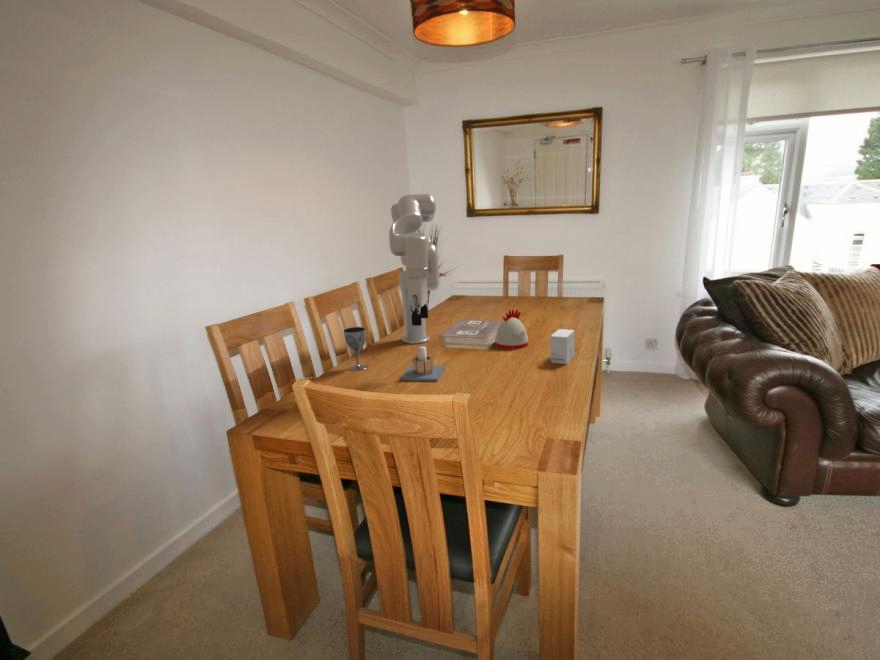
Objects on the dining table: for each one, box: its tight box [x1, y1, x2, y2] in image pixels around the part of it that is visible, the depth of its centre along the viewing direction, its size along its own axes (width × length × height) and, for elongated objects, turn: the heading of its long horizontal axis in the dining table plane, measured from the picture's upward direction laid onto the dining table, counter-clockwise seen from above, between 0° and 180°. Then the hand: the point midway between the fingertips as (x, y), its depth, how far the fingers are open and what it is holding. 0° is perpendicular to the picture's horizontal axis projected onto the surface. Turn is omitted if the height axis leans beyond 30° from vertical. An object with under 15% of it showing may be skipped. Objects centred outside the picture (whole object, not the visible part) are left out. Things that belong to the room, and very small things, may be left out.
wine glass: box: [343, 326, 368, 372], centre depth 175 cm, size 8×8×15 cm
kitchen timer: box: [494, 308, 529, 350], centre depth 194 cm, size 14×14×15 cm
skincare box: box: [550, 328, 576, 365], centre depth 173 cm, size 10×6×10 cm, turn 149°
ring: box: [411, 355, 434, 375], centre depth 165 cm, size 7×7×5 cm
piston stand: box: [400, 346, 446, 382], centre depth 165 cm, size 13×13×10 cm
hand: (420, 321), depth 161 cm, fingers open, 9 cm apart
